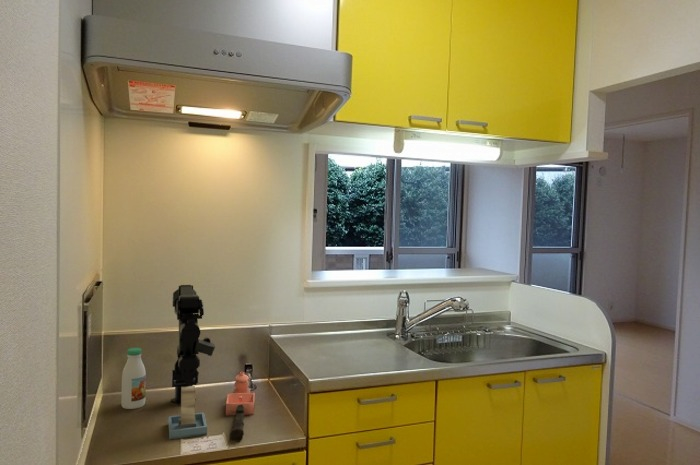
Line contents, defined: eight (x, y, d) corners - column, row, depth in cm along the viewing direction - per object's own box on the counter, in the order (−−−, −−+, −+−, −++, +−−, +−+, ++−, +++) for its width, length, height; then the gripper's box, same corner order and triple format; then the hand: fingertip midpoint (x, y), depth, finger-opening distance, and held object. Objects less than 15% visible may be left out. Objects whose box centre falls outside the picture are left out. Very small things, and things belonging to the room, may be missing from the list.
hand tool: (243, 442, 146) (243, 427, 146) (229, 442, 146) (230, 427, 146) (248, 415, 165) (249, 402, 165) (237, 415, 165) (237, 402, 165)
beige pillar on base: (178, 424, 154) (179, 386, 154) (195, 422, 156) (196, 385, 155) (179, 431, 149) (180, 392, 149) (196, 429, 151) (197, 390, 151)
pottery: (253, 414, 166) (254, 386, 165) (225, 415, 164) (226, 387, 164) (254, 394, 183) (255, 369, 183) (229, 395, 182) (229, 369, 181)
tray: (168, 424, 156) (168, 416, 156) (203, 419, 160) (203, 412, 160) (169, 439, 146) (169, 431, 145) (206, 434, 150) (207, 426, 150)
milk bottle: (121, 411, 164) (122, 353, 163) (120, 402, 171) (121, 347, 170) (146, 407, 167) (147, 351, 166) (144, 399, 174) (145, 345, 173)
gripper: (216, 339, 153) (215, 388, 153) (210, 326, 170) (209, 369, 171) (179, 342, 149) (178, 391, 149) (177, 327, 166) (176, 372, 166)
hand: (187, 380), depth 159 cm, fingers open, 9 cm apart
